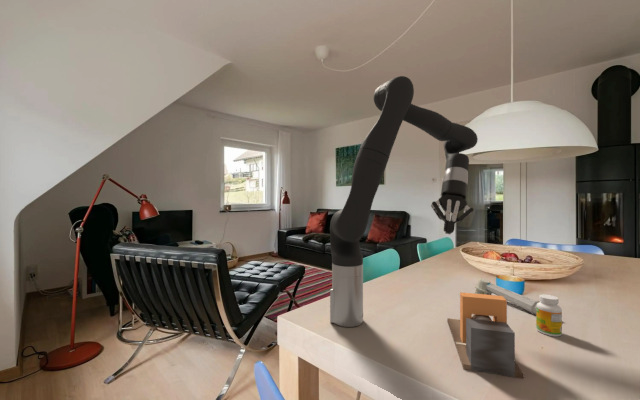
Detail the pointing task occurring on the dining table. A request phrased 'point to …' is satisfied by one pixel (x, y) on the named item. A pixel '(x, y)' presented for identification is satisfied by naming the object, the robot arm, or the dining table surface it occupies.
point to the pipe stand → (486, 346)
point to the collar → (481, 309)
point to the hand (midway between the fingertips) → (448, 233)
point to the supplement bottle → (549, 316)
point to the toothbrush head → (506, 295)
